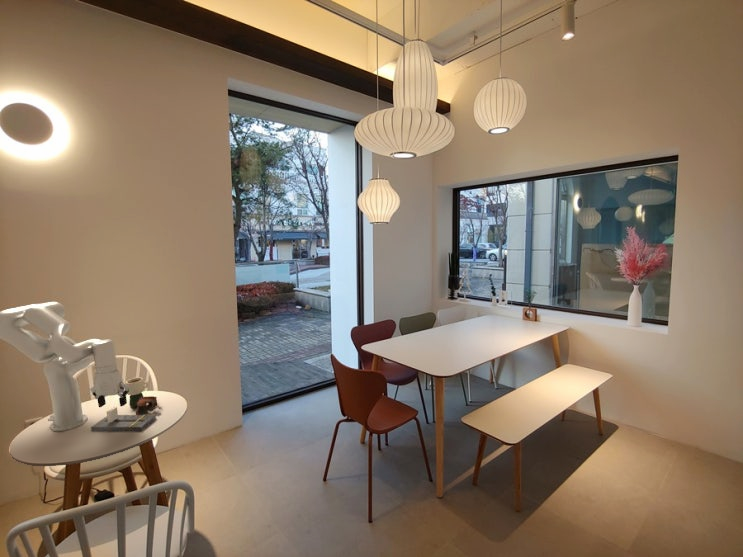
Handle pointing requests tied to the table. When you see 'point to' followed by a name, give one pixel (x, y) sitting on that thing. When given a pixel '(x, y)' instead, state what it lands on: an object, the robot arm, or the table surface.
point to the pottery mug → (144, 407)
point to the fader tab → (112, 414)
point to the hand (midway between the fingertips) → (113, 405)
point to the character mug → (135, 390)
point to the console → (125, 423)
